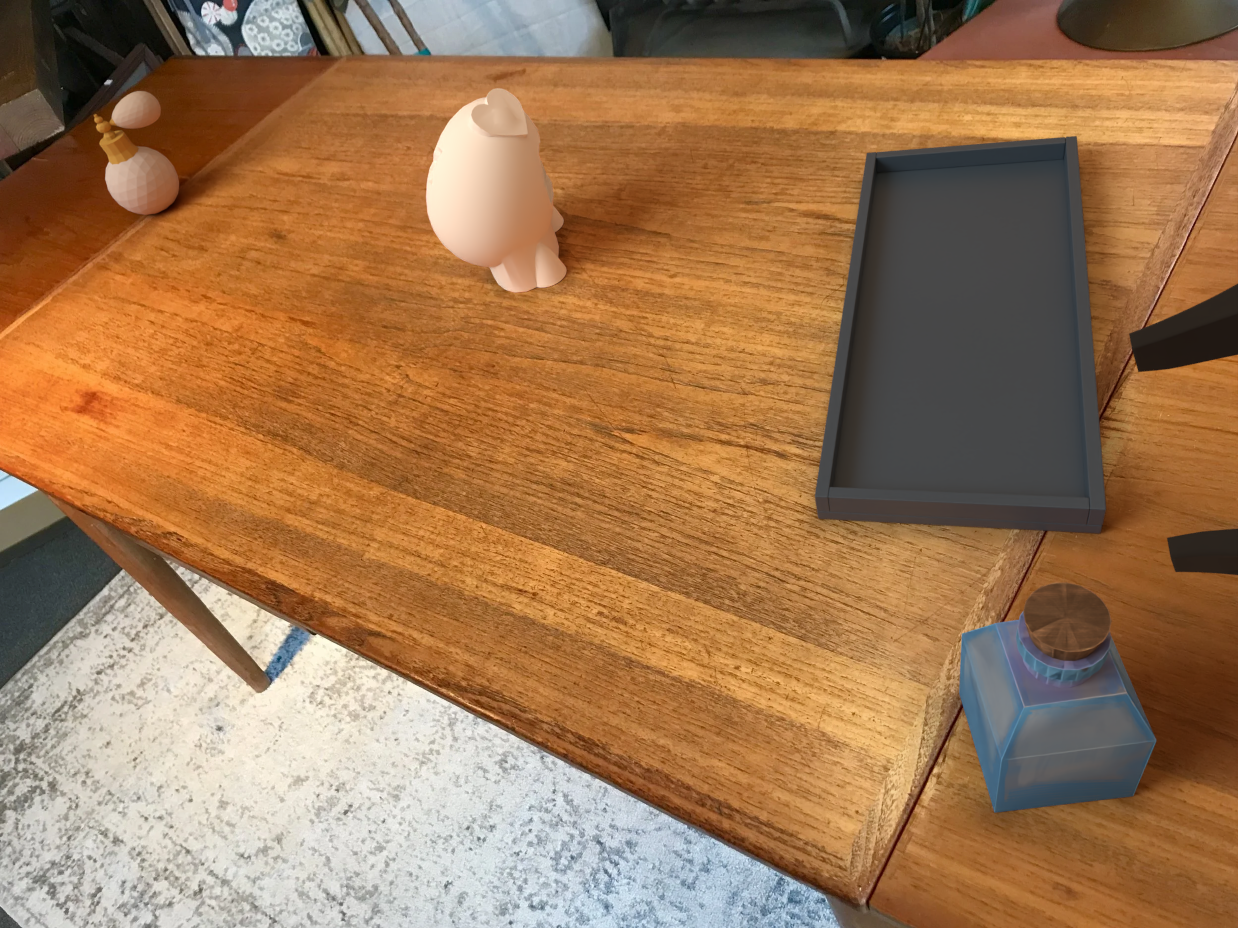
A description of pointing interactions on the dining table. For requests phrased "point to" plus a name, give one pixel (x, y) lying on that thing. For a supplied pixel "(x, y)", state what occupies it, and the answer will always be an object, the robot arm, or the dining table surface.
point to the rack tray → (967, 345)
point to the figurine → (496, 194)
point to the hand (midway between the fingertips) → (1151, 449)
